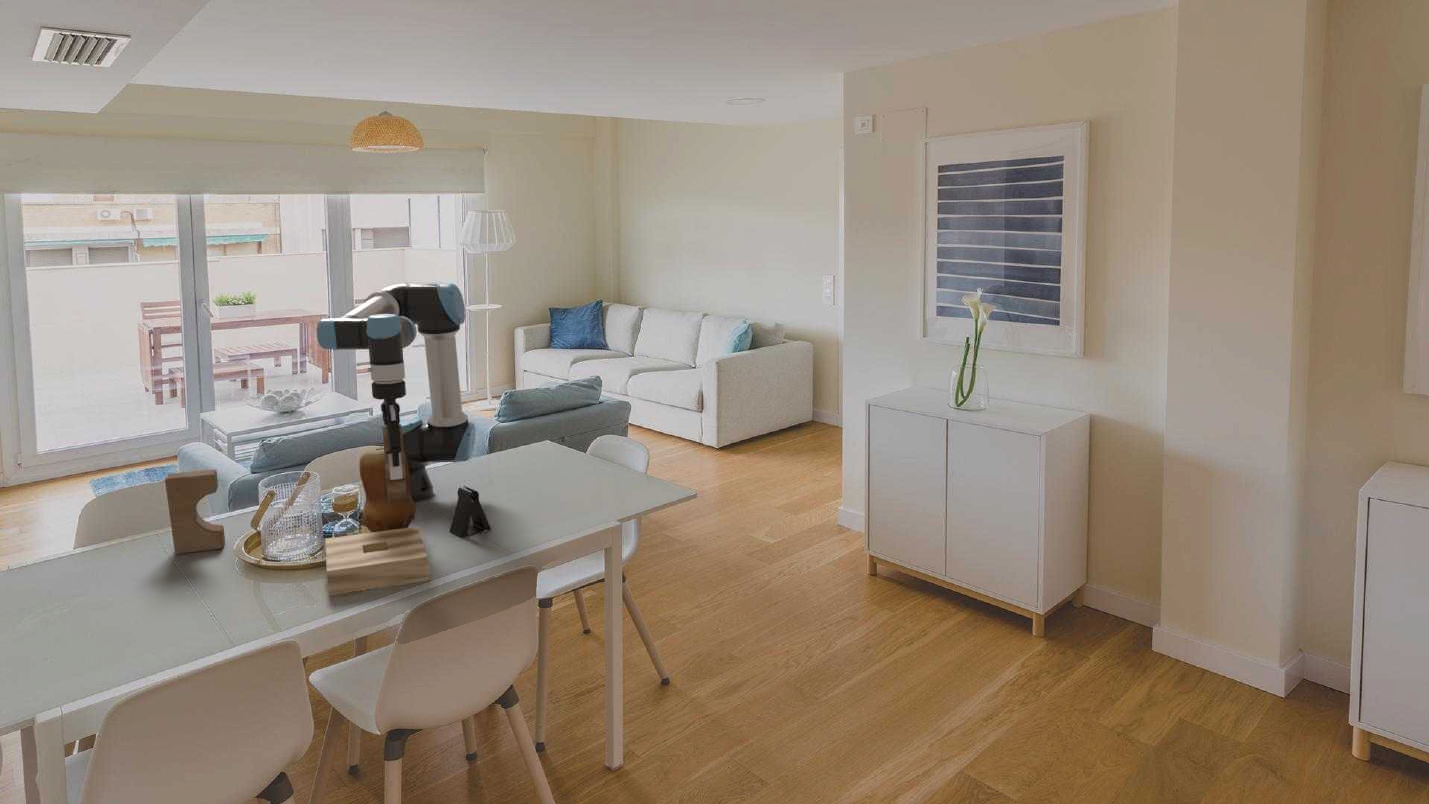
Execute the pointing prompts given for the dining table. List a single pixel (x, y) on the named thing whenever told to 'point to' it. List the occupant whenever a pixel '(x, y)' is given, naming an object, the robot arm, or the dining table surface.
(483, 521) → the black a-frame stand
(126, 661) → the dining table surface
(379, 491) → the butternut squash
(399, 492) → the leg
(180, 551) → the decorative block
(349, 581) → the seat block
